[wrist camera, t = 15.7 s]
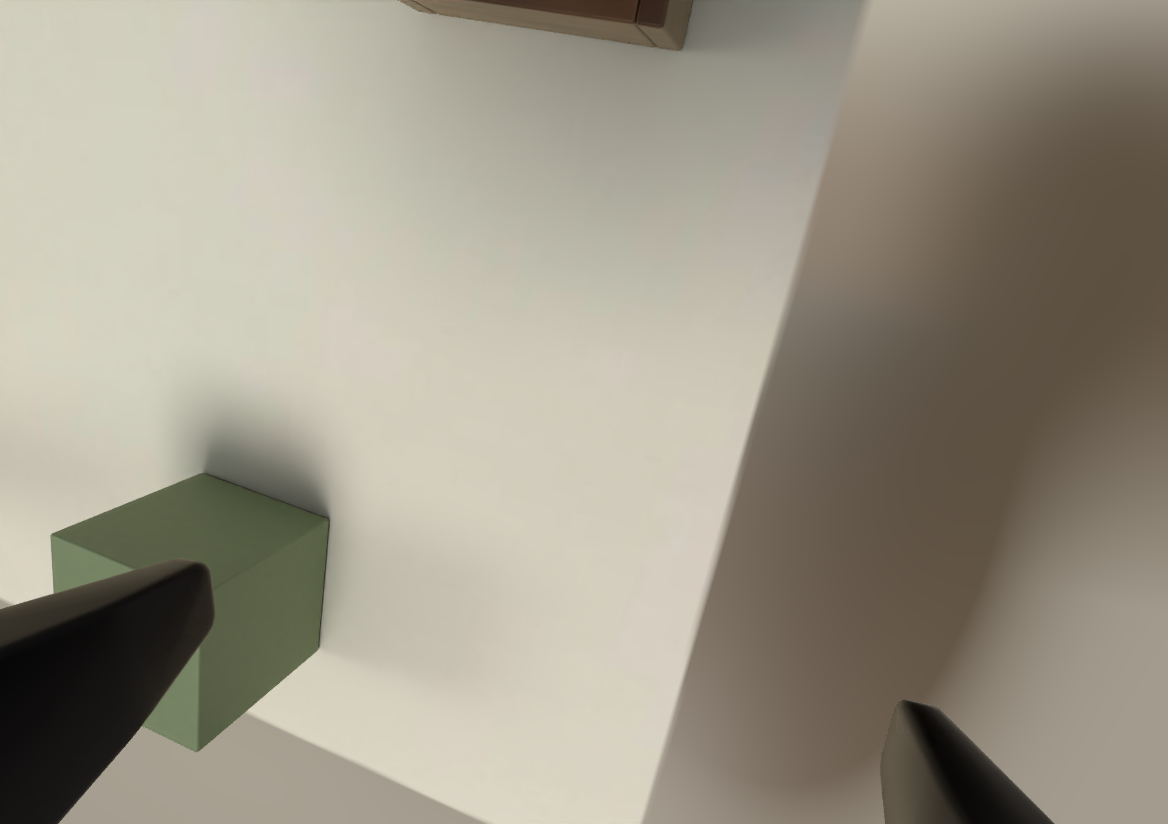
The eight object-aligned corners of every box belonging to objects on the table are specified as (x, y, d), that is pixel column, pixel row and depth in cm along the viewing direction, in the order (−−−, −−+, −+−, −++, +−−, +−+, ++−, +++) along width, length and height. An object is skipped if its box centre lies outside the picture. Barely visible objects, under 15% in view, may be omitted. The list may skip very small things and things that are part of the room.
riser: (330, 518, 26) (200, 596, 21) (319, 650, 28) (197, 754, 23) (201, 471, 28) (49, 533, 22) (199, 600, 30) (58, 686, 24)
